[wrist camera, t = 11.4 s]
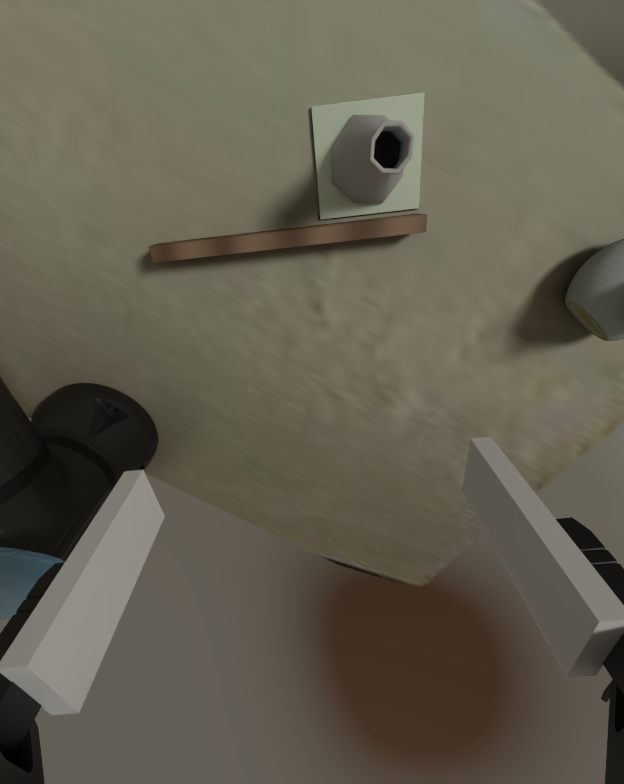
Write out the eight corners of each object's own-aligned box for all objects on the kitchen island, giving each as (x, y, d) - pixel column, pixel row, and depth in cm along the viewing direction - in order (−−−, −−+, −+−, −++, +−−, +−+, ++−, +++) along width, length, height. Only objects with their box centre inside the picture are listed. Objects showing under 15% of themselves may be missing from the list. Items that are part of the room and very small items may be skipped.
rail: (164, 258, 36) (153, 262, 34) (159, 243, 36) (148, 246, 33) (417, 229, 36) (426, 232, 33) (417, 213, 35) (427, 214, 32)
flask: (319, 189, 33) (325, 185, 25) (346, 98, 30) (364, 58, 21) (386, 216, 35) (413, 221, 26) (419, 132, 31) (464, 107, 23)
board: (320, 219, 35) (320, 219, 35) (311, 107, 30) (311, 106, 30) (418, 208, 35) (418, 208, 34) (423, 93, 30) (424, 92, 30)
